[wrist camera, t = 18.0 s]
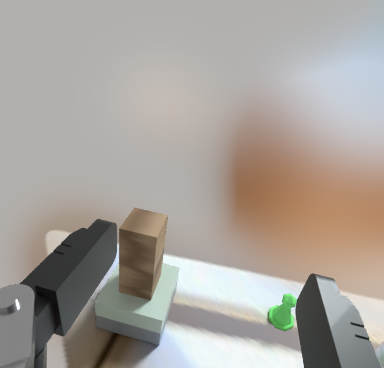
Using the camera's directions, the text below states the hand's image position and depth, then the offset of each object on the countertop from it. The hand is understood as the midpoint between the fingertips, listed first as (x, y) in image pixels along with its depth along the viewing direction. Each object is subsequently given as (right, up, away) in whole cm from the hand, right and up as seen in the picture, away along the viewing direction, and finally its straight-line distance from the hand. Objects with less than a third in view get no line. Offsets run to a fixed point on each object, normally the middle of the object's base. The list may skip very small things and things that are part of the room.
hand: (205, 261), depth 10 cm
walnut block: (-8, -12, +29) cm, 33 cm away
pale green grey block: (-9, -18, +32) cm, 38 cm away
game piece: (+15, -21, +34) cm, 43 cm away
